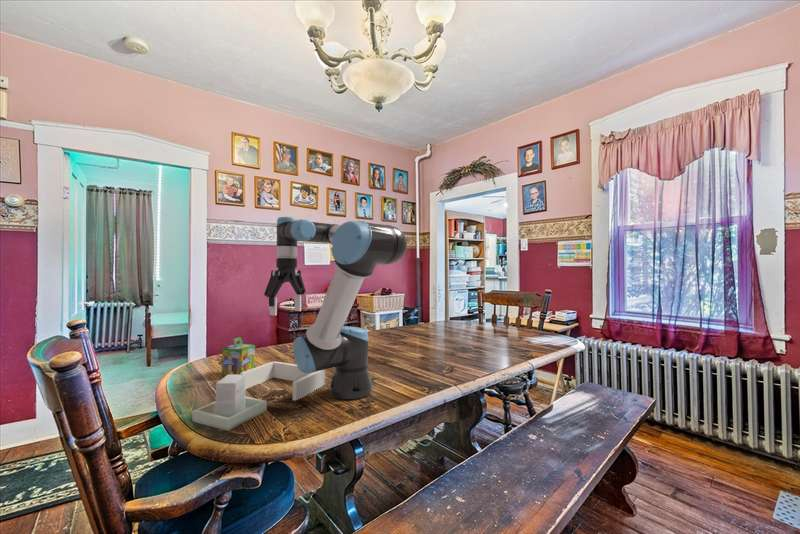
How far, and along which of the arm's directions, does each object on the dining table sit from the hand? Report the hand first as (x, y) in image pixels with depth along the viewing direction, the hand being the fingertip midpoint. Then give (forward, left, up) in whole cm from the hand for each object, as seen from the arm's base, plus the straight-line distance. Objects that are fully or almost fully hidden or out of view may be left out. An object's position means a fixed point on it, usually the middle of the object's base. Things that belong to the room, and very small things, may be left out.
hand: (286, 313), depth 128 cm
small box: (-5, +29, -26) cm, 39 cm away
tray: (-5, +29, -27) cm, 40 cm away
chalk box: (+24, 0, -27) cm, 36 cm away
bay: (-3, +4, -27) cm, 27 cm away
